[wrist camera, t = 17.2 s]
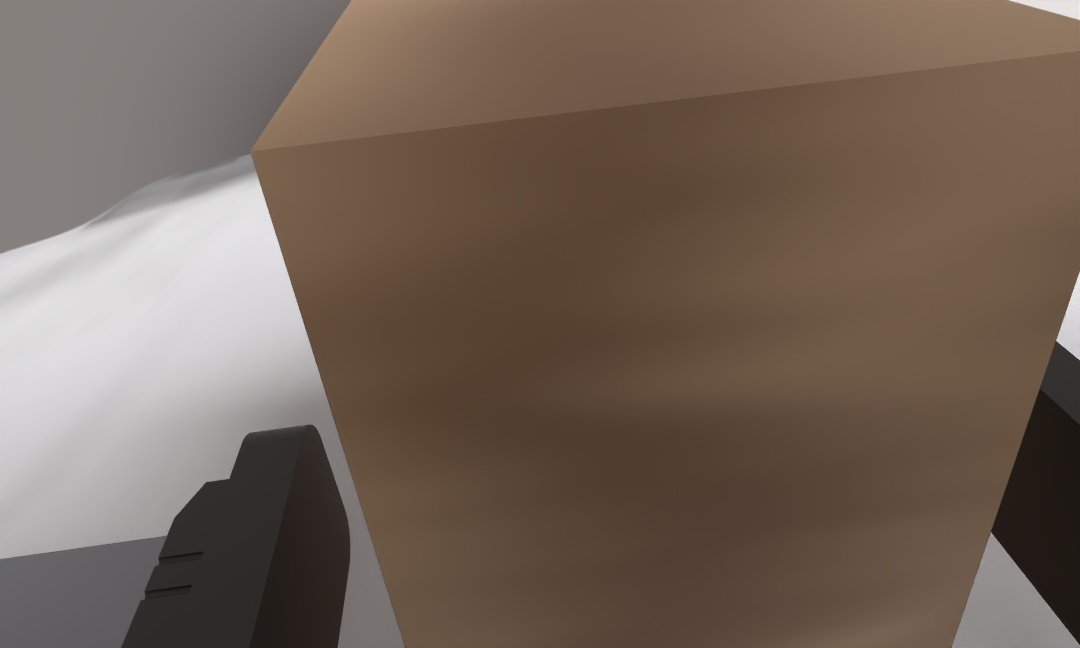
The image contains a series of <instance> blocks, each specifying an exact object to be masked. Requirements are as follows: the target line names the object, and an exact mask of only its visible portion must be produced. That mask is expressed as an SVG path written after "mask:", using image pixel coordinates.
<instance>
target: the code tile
mask: <svg viewBox="0 0 1080 648" xmlns="http://www.w3.org/2000/svg"><path fill="white" fill-rule="evenodd" d="M166 538H167V536H163V537H156V538H148V539H141V540H134V541H127V542H120V543H113V544H106V545H99V546H92V547H85V548H78V549H70V550H63V551H56V552H49V553H42V554H35V555H28V556H21V557H14V558H7V559H0V648H121V646H122V644H123V641H124V639H125V637H126V634H127V632H128V629H129V627H130V625H131V622H132V620H133V617H134V615H135V612H136V610H137V608H138V605H139V603H140V600H144V599H145V592H144V591H145V588H146V586H147V583H148V581H149V579H150V576H151V574H152V571H153V569H154V567H155V566H157V565H159V559H158V557H159V554H160V552H161V550H162V547H163V545H164V542H165V540H166Z"/></svg>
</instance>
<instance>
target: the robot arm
mask: <svg viewBox="0 0 1080 648" xmlns="http://www.w3.org/2000/svg"><path fill="white" fill-rule="evenodd" d="M991 532H992V534H993V535H994V536H995V538H996V539H997V540H998V541H999V543H1000V544H1001V545H1002V546H1003V548H1004V549H1005V550H1006V552H1007V553H1008V554H1009V555H1010V557H1011V558H1012V559H1013V560H1014V562H1015V563H1016V564H1017V566H1018V567H1019V568H1020V569H1021V571H1022V572H1023V573H1024V574H1025V576H1026V577H1027V578H1028V580H1029V581H1030V582H1031V583H1032V585H1033V586H1034V587H1035V588H1036V590H1037V591H1038V592H1039V594H1040V595H1041V596H1042V597H1043V599H1044V600H1045V601H1046V602H1047V604H1048V605H1049V606H1050V608H1051V609H1052V610H1053V611H1054V613H1055V614H1056V615H1057V616H1058V618H1059V619H1060V620H1061V622H1062V623H1063V624H1064V625H1065V627H1066V628H1067V629H1068V630H1069V632H1070V633H1071V634H1072V636H1073V637H1074V638H1075V639H1076V641H1077V642H1078V643H1079V645H1080V360H1079V359H1077V358H1076V357H1075V356H1074V355H1072V354H1071V353H1070V352H1069V351H1068V350H1066V349H1065V348H1064V347H1063V346H1061V345H1060V344H1059V343H1058V342H1057V341H1056V342H1055V345H1054V348H1053V351H1052V354H1051V357H1050V360H1049V363H1048V366H1047V368H1046V371H1045V374H1044V377H1043V380H1042V383H1041V386H1040V389H1039V392H1038V395H1037V398H1036V401H1035V404H1034V407H1033V409H1032V412H1031V415H1030V418H1029V421H1028V424H1027V427H1026V430H1025V433H1024V436H1023V439H1022V442H1021V445H1020V448H1019V451H1018V453H1017V456H1016V459H1015V462H1014V465H1013V468H1012V471H1011V474H1010V477H1009V480H1008V483H1007V486H1006V489H1005V492H1004V495H1003V497H1002V500H1001V503H1000V506H999V509H998V512H997V515H996V518H995V521H994V524H993V527H992V530H991ZM158 559H159V565H157V566H155V567H154V569H153V571H152V574H151V576H150V579H149V581H148V583H147V586H146V588H145V591H144V592H145V599H144V600H140V603H139V605H138V608H137V610H136V612H135V615H134V617H133V620H132V622H131V625H130V627H129V629H128V632H127V634H126V637H125V639H124V641H123V644H122V646H121V648H337V647H338V640H339V633H340V626H341V619H342V612H343V605H344V598H345V591H346V585H347V578H348V571H349V563H350V534H349V526H348V520H347V516H346V512H345V509H344V506H343V503H342V500H341V497H340V494H339V491H338V488H337V485H336V482H335V479H334V476H333V473H332V470H331V467H330V464H329V461H328V458H327V455H326V452H325V449H324V446H323V443H322V440H321V437H320V435H319V433H318V431H317V429H316V428H315V427H314V426H313V425H304V426H297V427H289V428H282V429H275V430H267V431H260V432H253V433H249V434H248V435H246V437H245V438H244V440H243V442H242V445H241V448H240V451H239V453H238V456H237V459H236V462H235V465H234V468H233V470H232V473H231V476H230V479H226V480H219V481H212V482H206V483H205V484H204V485H203V487H202V488H201V489H200V490H199V491H198V492H197V493H196V494H195V496H194V497H193V498H192V499H191V500H190V501H189V502H188V504H187V505H186V506H185V507H184V508H183V509H182V510H181V511H180V513H179V514H178V515H177V516H176V517H175V518H174V521H173V523H172V526H171V528H170V530H169V533H168V535H167V538H166V540H165V542H164V545H163V547H162V550H161V552H160V554H159V557H158Z"/></svg>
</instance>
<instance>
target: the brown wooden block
mask: <svg viewBox="0 0 1080 648" xmlns="http://www.w3.org/2000/svg"><path fill="white" fill-rule="evenodd" d="M250 153H251V156H252V159H253V162H254V166H255V169H256V172H257V175H258V178H259V182H260V185H261V188H262V191H263V194H264V198H265V201H266V204H267V207H268V210H269V214H270V217H271V220H272V223H273V226H274V229H275V233H276V236H277V239H278V242H279V245H280V249H281V252H282V255H283V258H284V261H285V265H286V268H287V271H288V274H289V277H290V281H291V284H292V287H293V290H294V293H295V297H296V300H297V303H298V306H299V309H300V313H301V316H302V319H303V322H304V325H305V329H306V332H307V335H308V338H309V341H310V345H311V348H312V351H313V354H314V357H315V360H316V364H317V367H318V370H319V373H320V376H321V380H322V383H323V386H324V389H325V392H326V396H327V399H328V402H329V405H330V408H331V412H332V415H333V418H334V421H335V424H336V428H337V431H338V434H339V437H340V440H341V444H342V447H343V450H344V453H345V456H346V460H347V463H348V466H349V469H350V472H351V476H352V479H353V482H354V485H355V488H356V491H357V495H358V498H359V501H360V504H361V507H362V511H363V514H364V517H365V520H366V523H367V527H368V530H369V533H370V536H371V539H372V543H373V546H374V549H375V552H376V555H377V559H378V562H379V565H380V568H381V571H382V575H383V578H384V581H385V584H386V587H387V591H388V594H389V597H390V600H391V603H392V607H393V610H394V613H395V616H396V619H397V622H398V626H399V629H400V632H401V635H402V638H403V642H404V645H405V648H951V647H952V644H953V641H954V638H955V635H956V632H957V629H958V626H959V624H960V621H961V618H962V615H963V612H964V609H965V606H966V603H967V600H968V597H969V594H970V591H971V588H972V585H973V582H974V580H975V577H976V574H977V571H978V568H979V565H980V562H981V559H982V556H983V553H984V550H985V547H986V544H987V541H988V539H989V536H990V533H991V530H992V527H993V524H994V521H995V518H996V515H997V512H998V509H999V506H1000V503H1001V500H1002V497H1003V495H1004V492H1005V489H1006V486H1007V483H1008V480H1009V477H1010V474H1011V471H1012V468H1013V465H1014V462H1015V459H1016V456H1017V453H1018V451H1019V448H1020V445H1021V442H1022V439H1023V436H1024V433H1025V430H1026V427H1027V424H1028V421H1029V418H1030V415H1031V412H1032V409H1033V407H1034V404H1035V401H1036V398H1037V395H1038V392H1039V389H1040V386H1041V383H1042V380H1043V377H1044V374H1045V371H1046V368H1047V366H1048V363H1049V360H1050V357H1051V354H1052V351H1053V348H1054V345H1055V342H1056V339H1057V336H1058V333H1059V330H1060V327H1061V324H1062V322H1063V319H1064V316H1065V313H1066V310H1067V307H1068V304H1069V301H1070V298H1071V295H1072V292H1073V289H1074V286H1075V283H1076V280H1077V278H1078V275H1079V272H1080V20H1078V19H1075V18H1071V17H1067V16H1064V15H1060V14H1057V13H1053V12H1049V11H1046V10H1042V9H1038V8H1035V7H1031V6H1028V5H1024V4H1020V3H1017V2H1013V1H1010V0H352V1H351V2H350V3H349V5H348V6H347V8H346V9H345V11H344V13H343V14H342V15H341V17H340V18H339V20H338V21H337V23H336V24H335V26H334V27H333V29H332V30H331V32H330V33H329V35H328V36H327V38H326V39H325V41H324V42H323V44H322V45H321V47H320V48H319V50H318V51H317V53H316V54H315V56H314V57H313V59H312V60H311V61H310V63H309V64H308V66H307V67H306V69H305V70H304V72H303V73H302V75H301V76H300V78H299V79H298V81H297V82H296V84H295V85H294V87H293V88H292V90H291V91H290V93H289V94H288V96H287V97H286V99H285V100H284V102H283V103H282V105H281V106H280V108H279V109H278V111H277V112H276V113H275V115H274V116H273V118H272V120H271V121H270V122H269V124H268V126H267V127H266V128H265V130H264V131H263V133H262V134H261V136H260V137H259V139H258V140H257V142H256V143H255V145H254V146H253V148H252V149H251V151H250Z"/></svg>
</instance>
